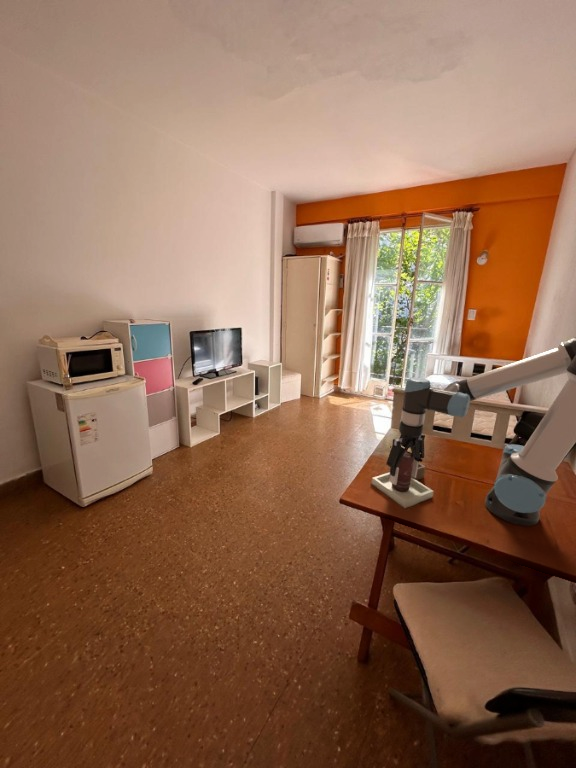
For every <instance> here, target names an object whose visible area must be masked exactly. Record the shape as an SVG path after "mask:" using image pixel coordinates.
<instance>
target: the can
mask: <svg viewBox="0 0 576 768" xmlns="http://www.w3.org/2000/svg"><path fill="white" fill-rule="evenodd" d="M413 463H414V455H413V454H412V452H411V451H409V450H407V452H405V453H404V455H403V457H402V459H401V461H400V463H399V465H398V468H399V471H398V478H397V485H394V484H393V483H392V487H393V488H394V489H395V490H396V491H399V492H407V491H408V490H409V487H410V481H411V475H412V469H413Z"/></svg>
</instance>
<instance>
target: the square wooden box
mask: <svg viewBox="0 0 576 768" xmlns="http://www.w3.org/2000/svg"><path fill="white" fill-rule="evenodd" d="M426 467H427V466H426V465H423V464H422V463H421V462H419V466H418V470H417V475H416V478H414V477H412V476H411V477H412V478H413V479H415V480H417V481H419V480H421V479H424V478H425V473H426Z"/></svg>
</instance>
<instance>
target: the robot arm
mask: <svg viewBox="0 0 576 768" xmlns="http://www.w3.org/2000/svg"><path fill="white" fill-rule="evenodd" d="M563 374H566V375H567V377H568V380H567V381H566V383H565V384H564V386H563V387H562V388H561V390H560V391H559V392H558V395H557V396H556V398H555V399H554V401H553V402H552V404H551V405H550V407H549V408H548V410H547V411H546V412H545V414H544V416H543V417H542V419H541V420H540V422H539V424H538V425H537V427H536V428H535V430H534V431H533V433H532V434H531V435H530V437H529V439H528V440H527V441H526V443H525V445H520V444H506V445H505V447H504V448H503V450H502V455H501V461H500V463H499V468H498V472H497V475H496V478H495V480H494V484H493V486H492V488H491V489H490V491H489V492H488V493H487V494H486V496H485V500H484V505H485V508H487V510H488V511H489V512H490V513H491V514H493V515H495V516H496V517H498V518H499V519H501V520H503V521H506V522H508V523H510V524H514V525H518V526H523V527H525V526H526V527H531V526H532V527H533V526H535V525H537V524H538V522H539V520H540V517H541V514H540V513H541V512H540V511H541V509H542V508H543V507H544V505H545V504H546V501H547V494H548V493H549V491H550V490H551V489H552V487H553V486H554V485H555V484H556V482H557V481H558V479H559V476H558V473H557V472H556V470H557V468H558V467H559V465H560V464H561V463H562V461H563V460H564V459H565V457H566V456H567V454H569V453H570V451H571V449H573V447H574V445H575V444H576V336H575V337H573V338H571V339H567V340H564V341H562V342H560V344H559V345H558V347H555V348H552V349H550V350H546V351H544V352H541V353H538V354H535V355H532V356H529V357H527V358H524V359H523V358H522V359H520V360H517V361H515V362H512V363H509V364H506V365H503V366H501V367H498V368H494V369H492V370H488V371H485V372H483V373H479V374H477V375H473V376H471V377H468V378H465V379H462V380H458V381H457V380H456V381H452V382H451V383H449V384H448V385H447V387H445V388H444V389H442V388H436V387H434V386H431V381H430V380H429V379H426V378H423V377H410V378H407V379H406V383H405V388H404V390H403V392H404V394H403V402H402V408H401V416H400V421H399V428H398V430H399V433H400V436H399V438H397V439H396V438H393V439H392V445H391V448H390V451H389V455H388V457H387V461H386V462H385V463H386V466H387V467H389V468H390V469H389V472H390V479H389V481H390V482H391V483H393V484H394V485H397V478H398V471H399V468H398V465H399V463H400V461H401V459H402V457H403V455H404V453H405V452H407V451H409V449H410V452H411V453H412V454H413V455H414V463H413V469H412V475H411V476H412V477H414V478H416V475H417V470H418V466H419V463H422V462H423V459H424V458H425V437H426V435H425V434H423V430H424V424H425V418H426V411H427V410H428V411H432V412H436V413H441V414H444V415H449V416H451V417H459V418H464V417H466V416H467V414H468V411H469V408H470V403H471V402H472V401H475V400H479V399H481V398H485V397H488V396H492V395H495V394H496V395H497V394H499V393H502V392H506V391H509V390H512V389H515V388H519V387H523V386H526V385H529V384H530V385H531V384H532V383H536V382H539V381H542V380H546V379H549V378H553V377H557V376H560V375H563Z"/></svg>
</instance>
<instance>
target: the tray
mask: <svg viewBox="0 0 576 768" xmlns="http://www.w3.org/2000/svg"><path fill="white" fill-rule="evenodd" d="M389 479H390V471H389V472H386V473H383V474H380V475H378V476H374V477H371V484H372V485H373V486H374V488H376V489H378V490H380V492H382V493H383V494H384V495H386V496H387V497H389V498H390V499H391V500H393V501H394V502H396V504H398V505H399V506H401V507H402V508H403V509H407V508H410V507H412V506H415V505H418V504H419V503H421V502H422V503H423V502H424V501H427V500H429V499H432V498H433V496H434V490H432V489H431V487H428V486H426V485H424V484H423V483H422V482H420V481H419V480H415V479H413V478H412V477H411V481H410V487H409V490H408V491H407V492H399V491H396V490H395V489H394V488H393V487H392V483H391V482H390V481H389Z"/></svg>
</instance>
